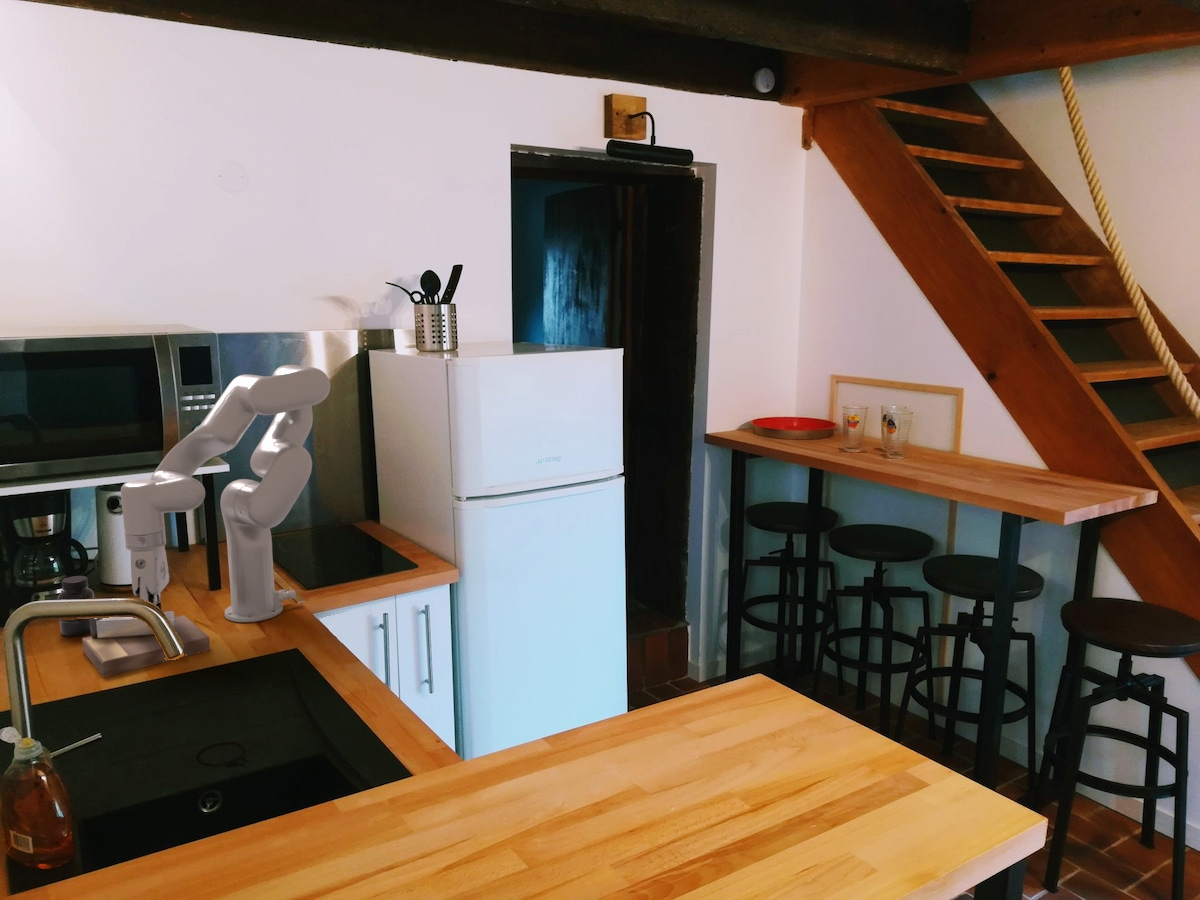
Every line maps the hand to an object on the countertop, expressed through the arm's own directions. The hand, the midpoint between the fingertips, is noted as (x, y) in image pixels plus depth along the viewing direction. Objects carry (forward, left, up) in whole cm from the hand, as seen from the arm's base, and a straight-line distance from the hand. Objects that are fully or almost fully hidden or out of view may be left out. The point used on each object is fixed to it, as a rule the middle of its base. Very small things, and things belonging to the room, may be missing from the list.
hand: (153, 621), depth 188 cm
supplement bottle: (+11, -17, -5) cm, 20 cm away
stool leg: (+5, +2, -1) cm, 5 cm away
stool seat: (+3, +4, -4) cm, 7 cm away
